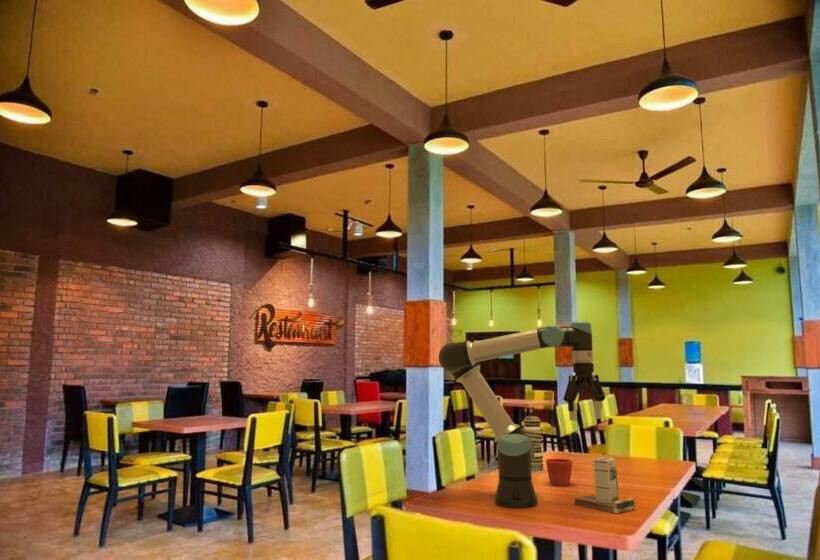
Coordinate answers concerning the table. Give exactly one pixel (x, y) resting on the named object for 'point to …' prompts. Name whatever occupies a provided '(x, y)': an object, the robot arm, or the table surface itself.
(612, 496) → the syrup box
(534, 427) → the decorative candle
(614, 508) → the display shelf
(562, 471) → the flower pot
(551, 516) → the table surface
